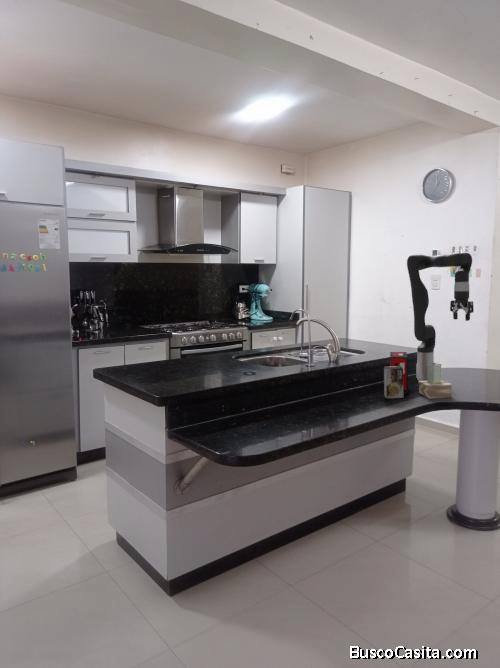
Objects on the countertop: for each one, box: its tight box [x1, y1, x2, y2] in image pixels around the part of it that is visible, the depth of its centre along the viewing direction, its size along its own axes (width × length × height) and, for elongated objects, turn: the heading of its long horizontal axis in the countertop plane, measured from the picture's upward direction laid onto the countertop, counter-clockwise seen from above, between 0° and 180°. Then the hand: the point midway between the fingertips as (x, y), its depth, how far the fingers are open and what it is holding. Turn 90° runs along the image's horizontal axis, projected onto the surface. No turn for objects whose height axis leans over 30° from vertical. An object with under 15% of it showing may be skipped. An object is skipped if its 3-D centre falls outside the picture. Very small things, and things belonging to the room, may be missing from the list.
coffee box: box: [383, 365, 405, 399], centre depth 256 cm, size 9×6×16 cm
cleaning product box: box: [389, 351, 409, 394], centre depth 270 cm, size 16×9×20 cm, turn 164°
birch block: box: [417, 379, 453, 400], centre depth 257 cm, size 13×13×7 cm
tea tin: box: [427, 362, 442, 384], centre depth 255 cm, size 5×5×10 cm
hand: (461, 320), depth 263 cm, fingers open, 8 cm apart
